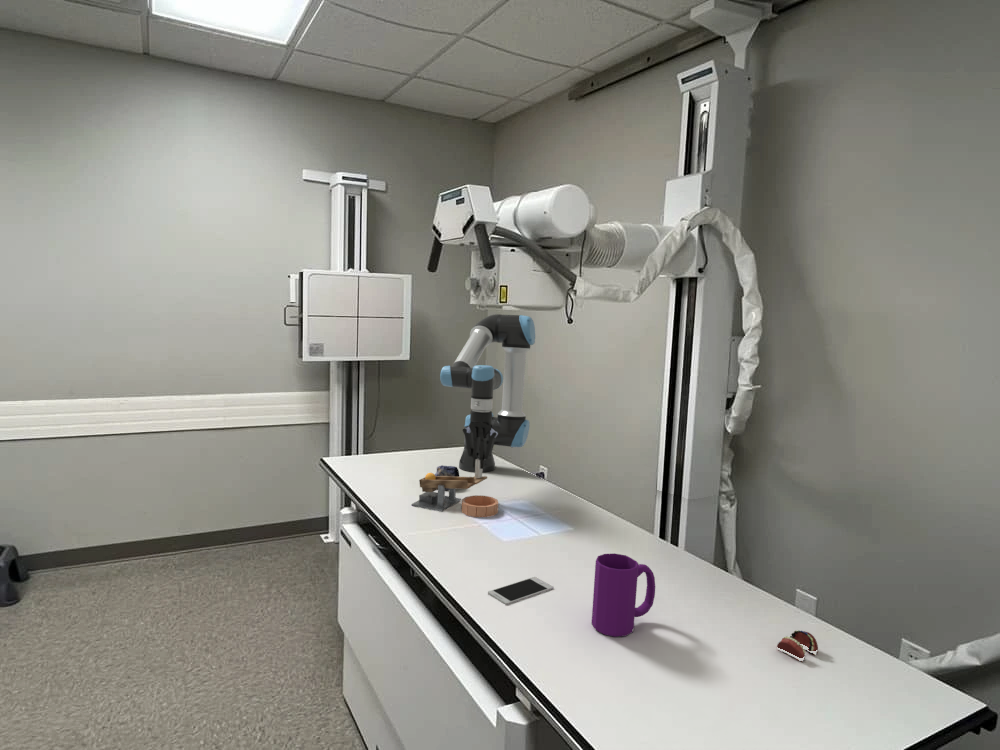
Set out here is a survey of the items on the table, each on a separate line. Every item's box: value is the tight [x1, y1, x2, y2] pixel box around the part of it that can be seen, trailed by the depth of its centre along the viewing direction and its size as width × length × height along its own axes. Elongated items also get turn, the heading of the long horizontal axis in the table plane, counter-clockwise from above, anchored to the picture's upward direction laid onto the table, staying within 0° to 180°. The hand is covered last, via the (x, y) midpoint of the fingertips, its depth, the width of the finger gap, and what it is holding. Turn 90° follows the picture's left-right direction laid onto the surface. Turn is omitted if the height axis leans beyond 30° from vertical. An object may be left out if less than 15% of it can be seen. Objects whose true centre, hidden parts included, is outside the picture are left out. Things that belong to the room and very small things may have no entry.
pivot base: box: [411, 485, 462, 512], centre depth 216 cm, size 12×14×8 cm
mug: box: [591, 553, 656, 638], centre depth 138 cm, size 9×16×15 cm, turn 118°
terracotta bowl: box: [460, 495, 499, 518], centre depth 210 cm, size 12×12×4 cm
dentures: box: [776, 630, 819, 658], centre depth 131 cm, size 6×4×8 cm
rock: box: [434, 464, 460, 491], centre depth 236 cm, size 11×10×10 cm
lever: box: [419, 475, 488, 493], centre depth 218 cm, size 18×15×4 cm
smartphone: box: [487, 576, 554, 606], centre depth 153 cm, size 7×16×1 cm, turn 129°
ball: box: [424, 472, 436, 480], centre depth 217 cm, size 4×4×4 cm
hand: (478, 477), depth 220 cm, fingers closed
